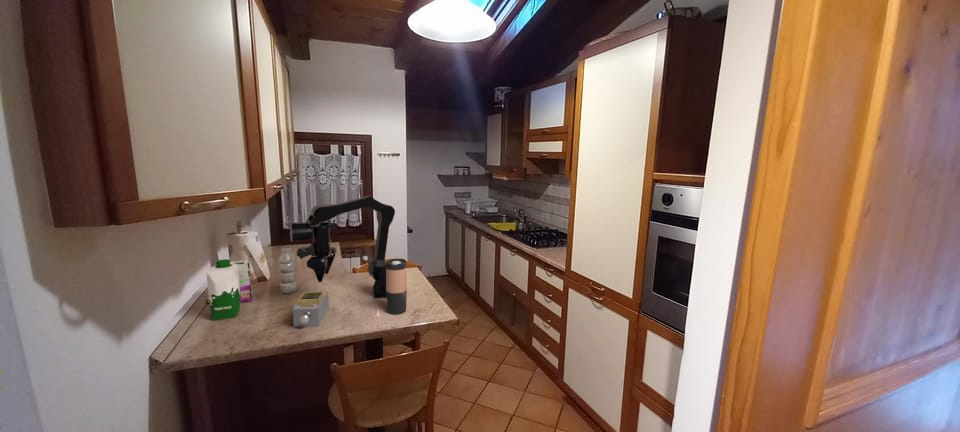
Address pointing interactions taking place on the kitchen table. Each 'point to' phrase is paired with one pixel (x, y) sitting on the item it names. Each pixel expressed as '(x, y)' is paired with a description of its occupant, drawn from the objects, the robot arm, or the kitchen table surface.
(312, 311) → the gearbox
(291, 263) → the plastic bottle
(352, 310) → the kitchen table surface
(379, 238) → the robot arm
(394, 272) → the travel mug
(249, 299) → the candy bar box
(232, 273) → the milk carton
